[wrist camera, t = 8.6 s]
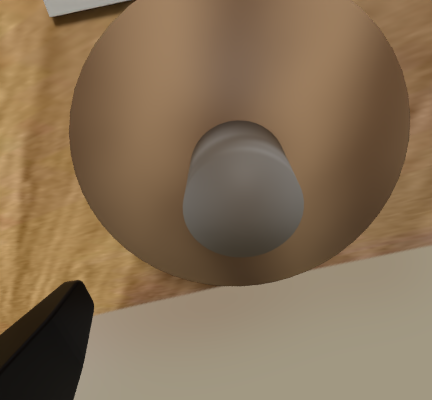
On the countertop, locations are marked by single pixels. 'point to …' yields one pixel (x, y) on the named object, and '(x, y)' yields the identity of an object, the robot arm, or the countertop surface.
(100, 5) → the mat
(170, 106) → the lid
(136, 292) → the countertop surface
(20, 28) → the countertop surface
